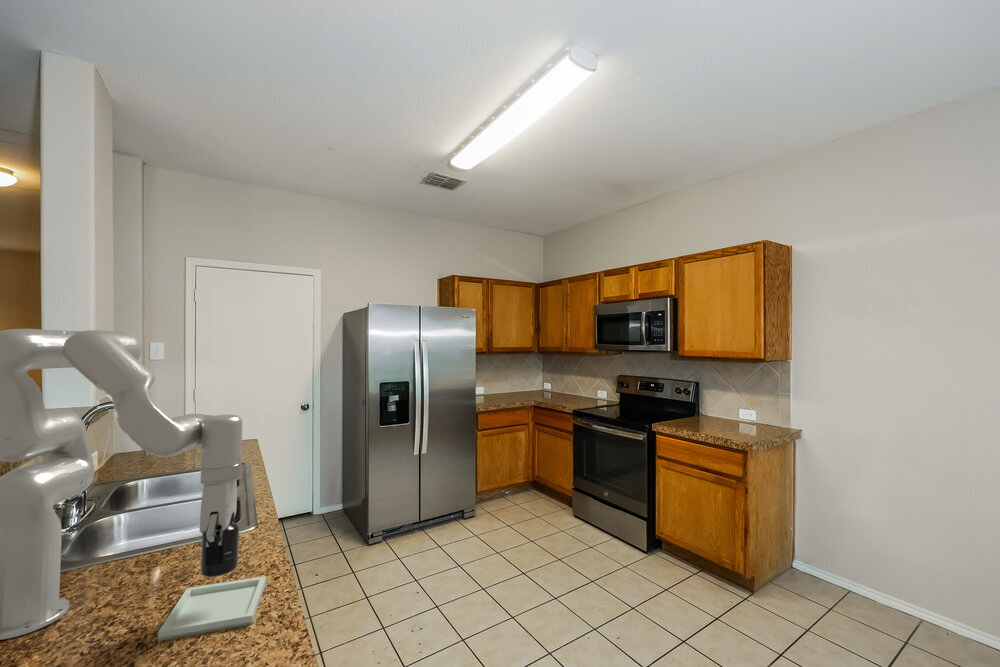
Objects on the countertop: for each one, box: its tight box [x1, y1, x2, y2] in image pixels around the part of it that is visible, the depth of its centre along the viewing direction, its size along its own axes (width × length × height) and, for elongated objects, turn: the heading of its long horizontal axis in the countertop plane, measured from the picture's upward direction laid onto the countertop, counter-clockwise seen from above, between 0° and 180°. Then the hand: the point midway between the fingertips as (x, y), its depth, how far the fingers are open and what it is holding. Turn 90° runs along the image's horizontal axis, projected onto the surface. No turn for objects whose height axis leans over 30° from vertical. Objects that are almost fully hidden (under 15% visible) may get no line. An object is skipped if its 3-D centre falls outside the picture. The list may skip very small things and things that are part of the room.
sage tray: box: [157, 575, 267, 642], centre depth 93 cm, size 16×16×2 cm
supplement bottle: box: [200, 512, 240, 578], centre depth 94 cm, size 7×7×12 cm
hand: (220, 555), depth 94 cm, fingers closed on supplement bottle, 6 cm apart
